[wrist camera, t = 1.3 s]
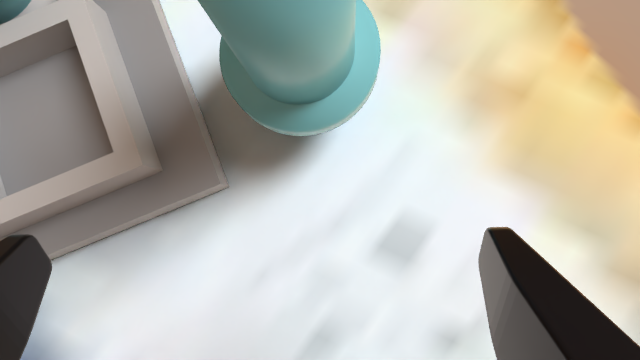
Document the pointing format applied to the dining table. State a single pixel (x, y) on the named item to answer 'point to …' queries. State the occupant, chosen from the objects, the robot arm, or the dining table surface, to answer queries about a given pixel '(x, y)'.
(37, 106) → the grey stepped base
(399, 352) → the dining table surface
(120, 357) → the dining table surface
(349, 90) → the teal plastic cylinder
